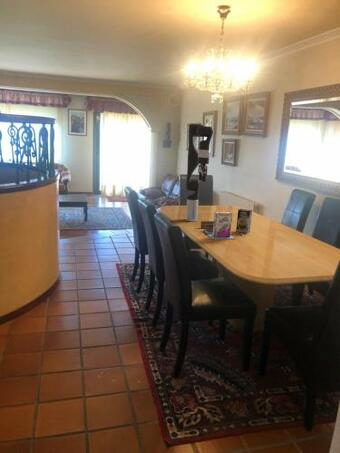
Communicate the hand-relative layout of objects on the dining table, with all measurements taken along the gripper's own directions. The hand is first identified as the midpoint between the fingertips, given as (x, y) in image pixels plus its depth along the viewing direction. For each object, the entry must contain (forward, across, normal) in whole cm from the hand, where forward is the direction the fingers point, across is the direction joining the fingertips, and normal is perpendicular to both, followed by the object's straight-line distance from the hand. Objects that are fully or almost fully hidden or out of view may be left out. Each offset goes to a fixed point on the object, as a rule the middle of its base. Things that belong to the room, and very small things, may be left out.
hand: (201, 180), depth 252 cm
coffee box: (+36, -2, +34) cm, 50 cm away
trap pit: (+36, +4, +12) cm, 38 cm away
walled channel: (+36, -8, +12) cm, 39 cm away
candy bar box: (+36, +14, +12) cm, 40 cm away
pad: (+36, +14, +12) cm, 41 cm away
